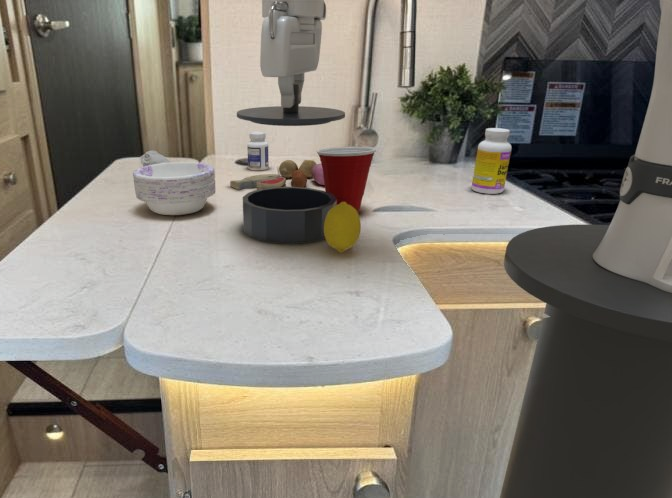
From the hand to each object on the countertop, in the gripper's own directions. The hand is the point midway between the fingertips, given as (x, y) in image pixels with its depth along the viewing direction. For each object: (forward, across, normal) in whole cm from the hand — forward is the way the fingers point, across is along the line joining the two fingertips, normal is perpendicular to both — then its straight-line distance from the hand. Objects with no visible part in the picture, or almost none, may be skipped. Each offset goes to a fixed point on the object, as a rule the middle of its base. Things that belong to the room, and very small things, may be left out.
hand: (291, 106), depth 84 cm
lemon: (+21, -7, -10) cm, 24 cm away
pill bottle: (+21, +47, +22) cm, 56 cm away
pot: (+20, +2, +1) cm, 21 cm away
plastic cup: (+21, +15, -6) cm, 26 cm away
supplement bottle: (+21, +40, -34) cm, 56 cm away
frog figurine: (+21, +27, +40) cm, 52 cm away
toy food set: (+21, +34, +9) cm, 41 cm away
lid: (+2, 0, 0) cm, 2 cm away
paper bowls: (+21, +7, +25) cm, 33 cm away
